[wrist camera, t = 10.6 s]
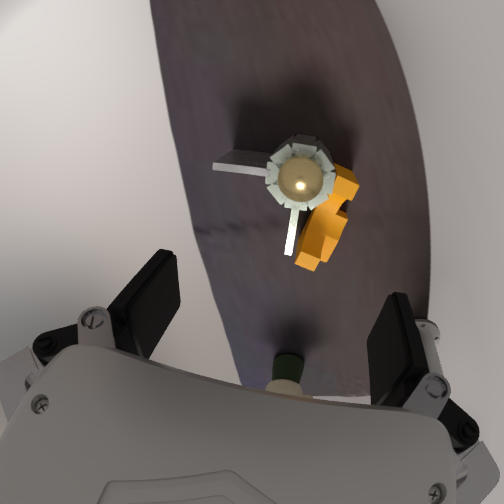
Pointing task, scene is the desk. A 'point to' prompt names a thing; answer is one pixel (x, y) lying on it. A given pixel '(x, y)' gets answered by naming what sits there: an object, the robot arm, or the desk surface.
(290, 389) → the character mug
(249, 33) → the desk surface
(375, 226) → the desk surface
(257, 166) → the hinge
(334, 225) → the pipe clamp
